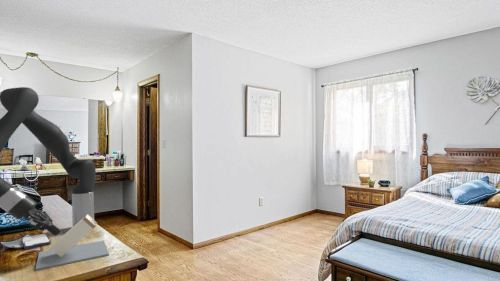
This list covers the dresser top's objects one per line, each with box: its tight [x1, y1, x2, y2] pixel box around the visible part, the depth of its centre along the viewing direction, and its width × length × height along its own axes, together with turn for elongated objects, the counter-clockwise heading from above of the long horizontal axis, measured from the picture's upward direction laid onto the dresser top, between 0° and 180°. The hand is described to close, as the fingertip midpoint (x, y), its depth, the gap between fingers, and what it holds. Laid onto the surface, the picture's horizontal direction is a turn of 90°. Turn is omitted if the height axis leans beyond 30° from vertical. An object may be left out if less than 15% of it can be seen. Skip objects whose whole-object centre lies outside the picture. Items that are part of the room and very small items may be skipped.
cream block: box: [49, 214, 98, 257], centre depth 109 cm, size 5×5×15 cm
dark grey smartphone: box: [21, 233, 52, 250], centre depth 124 cm, size 9×2×16 cm
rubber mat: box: [35, 240, 110, 271], centre depth 110 cm, size 17×22×1 cm
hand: (58, 233), depth 108 cm, fingers closed
